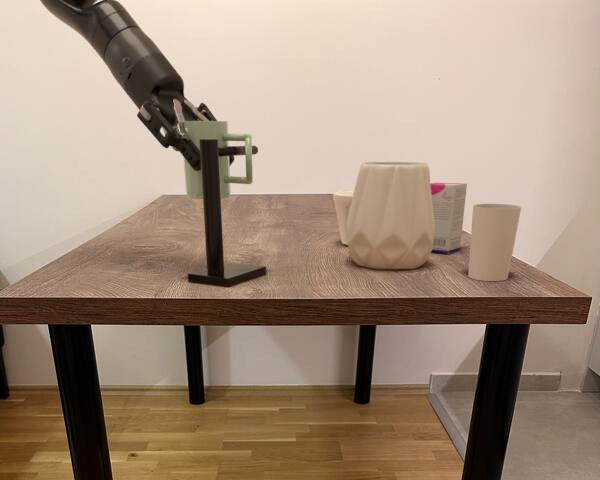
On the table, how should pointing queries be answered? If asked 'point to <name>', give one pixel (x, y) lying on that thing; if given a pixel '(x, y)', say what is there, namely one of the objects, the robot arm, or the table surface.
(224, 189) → the mug
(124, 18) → the robot arm
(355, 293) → the table surface
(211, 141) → the mug rack
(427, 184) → the vase
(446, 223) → the supplement box
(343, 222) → the cup
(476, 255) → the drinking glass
